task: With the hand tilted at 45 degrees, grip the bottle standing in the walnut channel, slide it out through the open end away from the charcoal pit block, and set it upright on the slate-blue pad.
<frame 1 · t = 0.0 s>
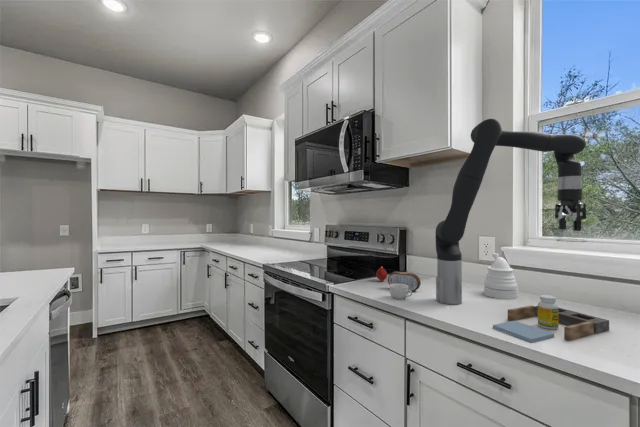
hand: (569, 230, 120), 29 cm above the worktop, tool pointing down, fingers open, 8 cm apart
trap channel: (548, 326, 98), on the worktop
tin: (403, 290, 145), on the worktop
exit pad: (522, 332, 93), on the worktop
honey pot: (500, 295, 136), on the worktop
onion: (381, 281, 164), on the worktop
teacup: (401, 299, 131), on the worktop
supplement bottle: (548, 327, 98), on the worktop
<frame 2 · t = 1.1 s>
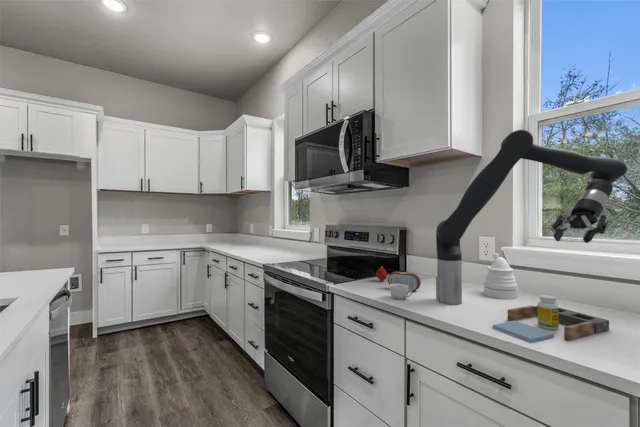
hand: (570, 240, 103), 27 cm above the worktop, tool tilted 45°, fingers open, 8 cm apart
nothing on the worktop moved.
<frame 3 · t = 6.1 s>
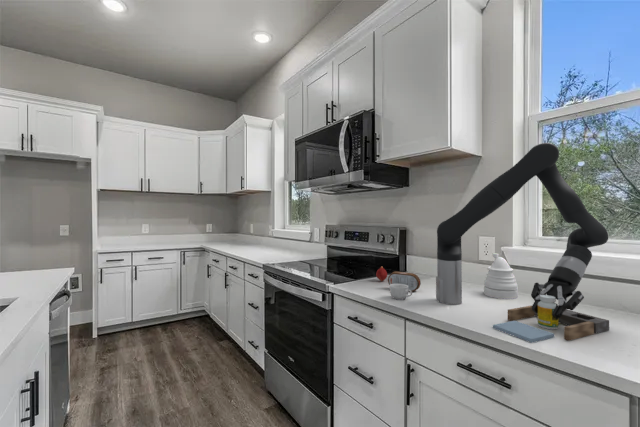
hand: (544, 314, 97), 4 cm above the worktop, tool tilted 45°, fingers closed on supplement bottle, 5 cm apart
supplement bottle: (548, 327, 98), on the worktop, touching gripper
everything else where it was.
when the fingers open (6 cm above the worktop, at t = 11.4 s): supplement bottle stays where it is, resting on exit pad.
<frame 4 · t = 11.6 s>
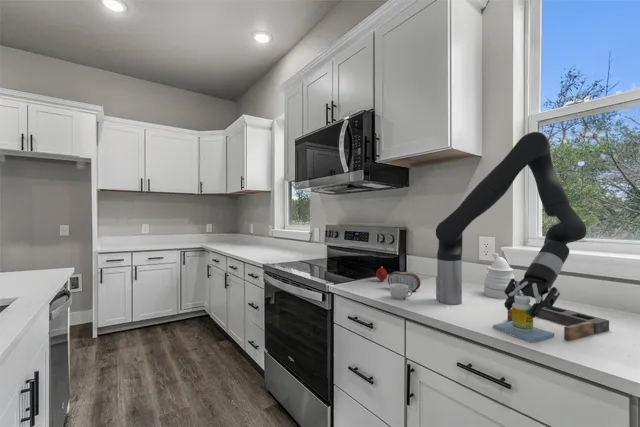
hand: (518, 311, 93), 6 cm above the worktop, tool tilted 45°, fingers open, 7 cm apart
supplement bottle: (522, 329, 94), point 1 cm above the worktop, touching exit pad
everything else where it was.
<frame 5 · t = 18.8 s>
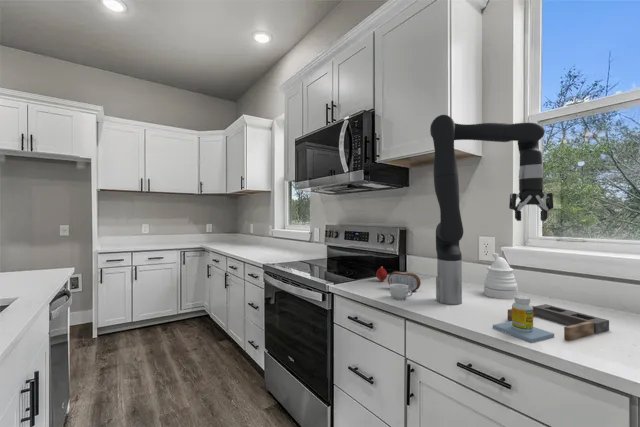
hand: (531, 220, 117), 33 cm above the worktop, tool pointing down, fingers open, 8 cm apart
nothing on the worktop moved.
at the end: supplement bottle 0.2 cm from the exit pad (horizontally); supplement bottle tilted 0°; the gripper is holding nothing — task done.
